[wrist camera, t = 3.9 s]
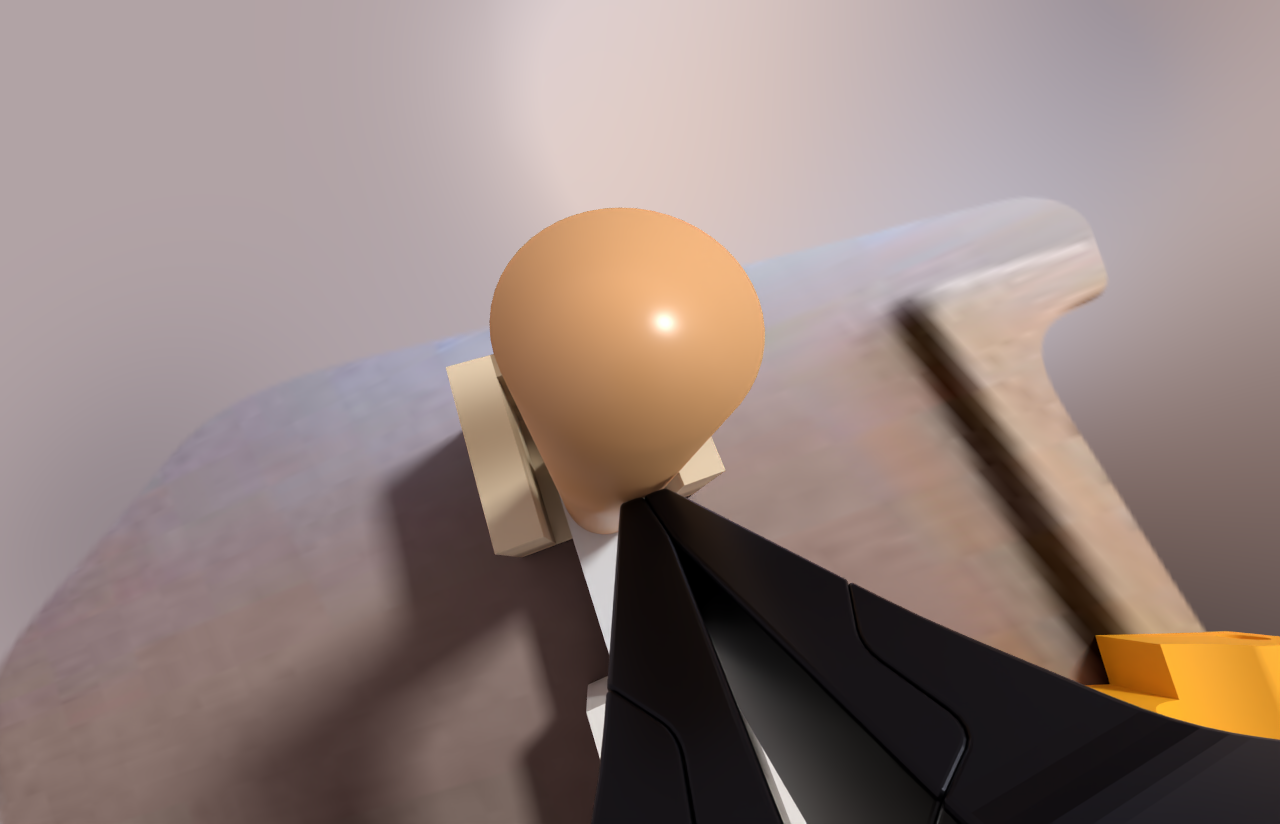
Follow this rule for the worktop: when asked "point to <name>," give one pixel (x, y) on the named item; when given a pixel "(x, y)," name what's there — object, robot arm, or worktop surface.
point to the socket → (527, 464)
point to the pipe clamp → (1198, 678)
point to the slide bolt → (622, 361)
